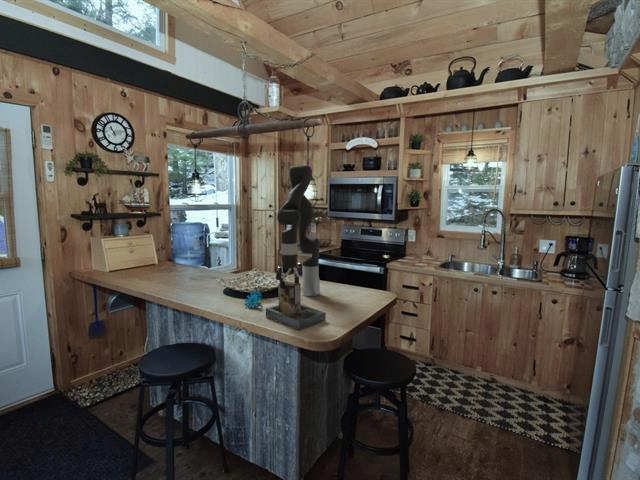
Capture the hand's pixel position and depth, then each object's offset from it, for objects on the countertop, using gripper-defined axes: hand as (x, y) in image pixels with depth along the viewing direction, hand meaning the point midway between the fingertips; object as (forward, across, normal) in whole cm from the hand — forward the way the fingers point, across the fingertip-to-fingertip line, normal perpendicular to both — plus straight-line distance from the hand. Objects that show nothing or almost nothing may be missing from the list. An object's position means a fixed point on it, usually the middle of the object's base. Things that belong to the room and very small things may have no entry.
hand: (289, 286), depth 161 cm
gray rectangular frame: (+14, 0, +4) cm, 15 cm away
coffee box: (+15, 0, 0) cm, 15 cm away
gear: (+15, +4, -24) cm, 28 cm away
